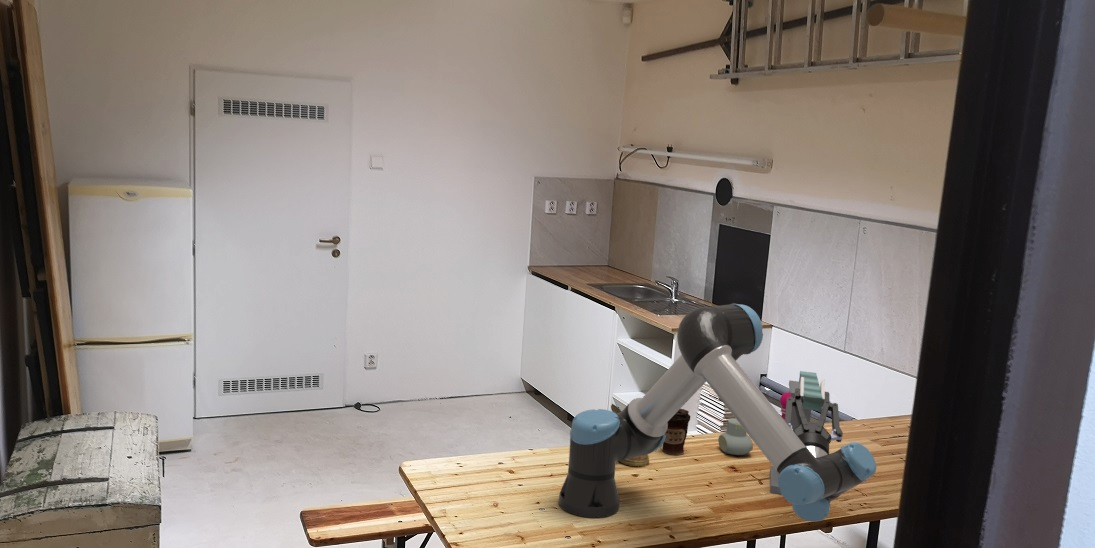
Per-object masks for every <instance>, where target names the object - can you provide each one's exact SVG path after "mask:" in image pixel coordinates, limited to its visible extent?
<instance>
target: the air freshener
mask: <svg viewBox="0 0 1095 548" xmlns="http://www.w3.org/2000/svg"><path fill="white" fill-rule="evenodd" d="M726 426H727V427H726V431H725V432H722V433H721V434H720V435H719V436H718V446H719V448H720V450H722V451H723V452H724V453H725V454H728V455H732V456H744V455H747V454H749V453H750V452H752V451H753V448H754V443H753V440H752V439H751V437H750V436H749V435H748V434H747V432H746V431H745V430H744V428H743V427H742V426H741V425H740V423H739V422H738V421H737V420H736V418H735V417H734V418H729V419H728V420H727V425H726Z"/></svg>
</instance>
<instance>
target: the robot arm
mask: <svg viewBox="0 0 1095 548" xmlns="http://www.w3.org/2000/svg"><path fill="white" fill-rule="evenodd" d="M763 336H764V333H763V324H762V321H761V319H760V316H759V315H758V313H757V312H756V311H755V310H754V309H753V308H751V306H748V305H745V304H738V303H730V304H723V305H715V306H701V307H697V308H694V309H692V310H690V311H689V312H688V313H686V314H685V315H684V317H683V318H682V319H681V321H680V322H679V325H678V328H677V333H676V338H677V345H678V350H679V352H680V354H681V355H679V357H678V358H677V359H676V360H675V361H674V363H672V364H671V366H670V367H669V368H668V369H667V370H666V371H665V372H664V374H663V375H661V376H660V377H659V379H658V380H657V381H656V382H655V383H654V384H653V385H652V387H651V388H650V389H649V390H648V391H647V393H645V394H644V395H643V396H642V397H637V398H633V399H632V400H631V401H629V403H628V404H626V406H625V407H624V408H623V409H622V410H621V411H622V412H620V413H617V414H616V413H614V412H612V410H609V409H602V408H601V409H599V408H597V409H589V410H585V411H581V412H579V413H577V414H576V415H575V416H574V418H573V420H572V423H571V429H570V432H569V435H570V436H569V437H570V439H569V452H568V453H569V454H568V455H569V456H568V467H567V468H568V470H567V474H566V477H565V480H564V482H563V485H562V487H561V489H560V491H559V494H558V495H559V496H558V504H559V507H560V508H561V509H562V510H564V511H565V512H567V513H569V514H572V515H575V516H579V517H584V518H605V517H610V516H612V515H615V514H616V513H617V512H618V511H619V510H620V496H619V491H618V488H617V483H616V478H615V474H616V464H617V462H620V460H624V459H628V458H632V457H636V456H641V455H647V454H648V455H649V454H652V453H654V452H656V451H657V450H659V449H660V448H661V447H663V443H664V441H665V438H666V435H665V433H666V431H667V428H668V423H667V422H668V421H669V420H670V419H671V418H672V417H673V416H674V415H675V414H676V412H677V411H678V410H679V409H682V407H683V406H684V405H686V404H687V402H688V401H689V400H690V399H691V398H692V397H693V396H694V395H696V393H697V392H698V391H699V390H700V389H701V388H702V387H703V386H704V385H705V383H707V384H708V385H709V386H710V388H711V389H712V391H713V392H714V393H715V394H716V396H717V397H718V398H719V399H720V401H721V402H722V403H723V404H724V406H725V407H726V408H727V410H728V411H729V412H730V413H731V415H732V417H734V418H736V420H737V421H738V422H739V423H740V425H741V426H742V427H743V428H744V430H745V431H746V432H747V433H746V435H748V436H749V437H750V438H751V440H752V442H754V444H755V445H756V446H757V448H758V449H759V450H760V451H761V452H762V454H763V455H764V457H765V458H766V460H768V462H770V464H771V466H773V467H774V468H775V469H776V470H777V472H778V473H779V474H780V475H779V478H778V486H779V488H780V492H781V494H782V495H781V494H780V495H781V496H782V497H783V498H784V500H785V501H786V502H788V503H790V504H791V505H792V506H791V507H792V510H793V512H794V514H795V515H796V516H797V517H798V518H800V519H802V520H804V521H806V522H813V523H815V522H820V521H821V522H822V521H823V520H825V519H826V518H828V515H829V514H830V511H831V502H833V501H834V500H836V499H838V498H839V497H841V495H843V494H845V493H847V492H848V491H850V490H852V489H853V488H855V487H857V486H858V485H860V484H862V483H864V482H866V481H867V480H868V479H870V478H871V477H873V476H874V475H875V473H876V472H877V462H876V459H875V457H874V456H873V455H872V452H871V451H870V449H868V448H867V447H866V446H865V445H863V444H861V443H860V442H857V441H852V442H849V443H847V444H845V446H841V448H840V449H838V450H837V451H834V452H832V453H830V444H831V442H832V441H836V442H837V443H841V442H842V440H843V435H844V433H843V430H842V429H841V427H840V413H839V404H838V403H836V402H833V403H832V402H831V401H830V400H831V399H830V397H831V396H830V392H829V391H826V387H825V383H826V382H825V379H820V383H819V386H820V390H821V394H822V397H823V402H822V410H821V411H820V415H819V417H818V420H817V422H811V421H810V422H807V418H806V417H805V413H804V410H803V406H802V403H803V397H804V377H801V379H800V389H799V388H796V389H795V396H794V398H791V397H788V398H787V403H786V412H785V420H784V419H783V418H782V415H781V414H780V413H779V412H778V411H777V409H776V407H774V406H773V404H772V403H771V402H770V401H769V400H768V398H767V397H766V396H765V395H764V393H763V392H762V391H761V390H760V388H758V387H757V385H756V384H755V382H754V381H753V380H752V379H751V378H750V377H749V376H748V374H747V373H746V372H745V370H744V369H743V368H742V367H741V365H740V364H739V363H738V362H737V361H738V359H739V358H741V356H743V355H750V354H752V353H754V352H755V351H756V350H758V348H760V346H761V344H762V341H763ZM792 406H794V407H795V411H796V415H797V419H798V423H799V426H797V427H796V428H795V429H794V430H793V429H792V425H791V424H790V420H791V410H792ZM829 412H830V415H831V416H830V418H831V429H832V430H831V432H829V431H828V430H827V429H826V428H825V427H824V426H825V423H826V419H827V416H828V413H829Z"/></svg>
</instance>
